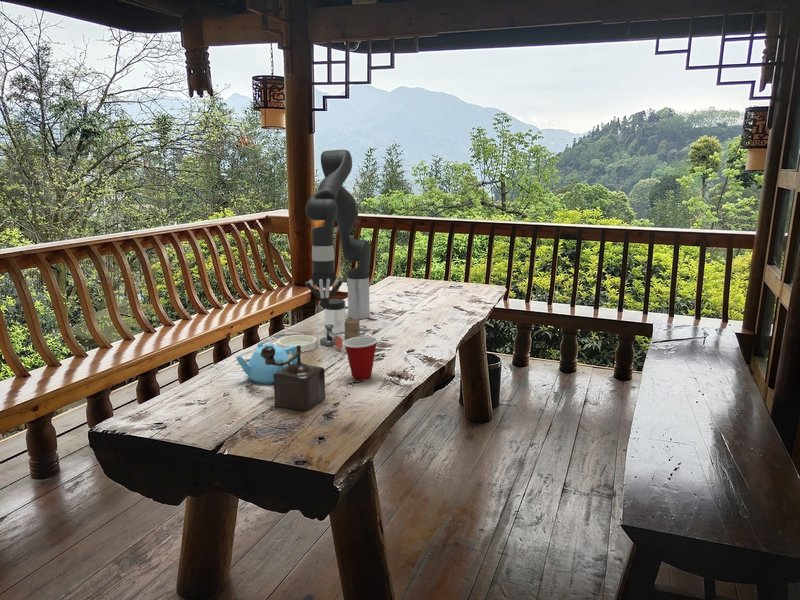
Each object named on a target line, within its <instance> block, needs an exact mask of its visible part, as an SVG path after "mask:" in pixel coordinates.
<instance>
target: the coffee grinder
mask: <svg viewBox="0 0 800 600" xmlns="http://www.w3.org/2000/svg"><path fill="white" fill-rule="evenodd" d="M296 348H297V351H296V354H295V355H294V356H293V355H292V356H291V357H289V358H290V359H289V360H287V361H285V362H282V363H275V361H276V360H275V359H274V355H275V352H276V351H275V349H274V347H270V346H267V347H264V348H263V349H262V350H261V357H263V358H264V359H265V364H266V365H275V366H283V365H286V364H288V365H287V366H285V367H283V368H282V370H280V371H278V372H276V373H274V375H273V377H274V383H273V393H274V395H273V396H274V406H276V407H277V408H281V409H286V410H291V411H295V412H296V411H297V412H303V411H305V413H306V411H307V412H308V410H309V411H310V410H311V409H314V408H315V407H316V406H317V405H319V404H320V403H322V402H323V401H324V400H325V399H326V384H325V383H326V379H325V377H326V376H325V367H322V366H315V365H311V364H306V363H305V362H304V363H303V362H302V358H301V354H302V353H301V350H300V349H301V346H300V345H297V347H296ZM295 358H297V362H296V363H293V364H290V362H291V361H293V360H294V359H295Z"/></svg>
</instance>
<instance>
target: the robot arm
mask: <svg viewBox="0 0 800 600" xmlns="http://www.w3.org/2000/svg"><path fill="white" fill-rule="evenodd" d="M352 157H353V156H352V154H351V153H350V151H349V150H347V149H332V150H323V151H322V152H321V154H320V165H321V170H322V173H323V175H324V178H323V179H322V180H321V181H320V183H319V185H318V188H317V190H316V192H315V193H314V194H313V195H312V196H310V197H309V199H308V200H307V202H306V205H305V209H304V211H305V215H306V217H307V218H308V219H309V220H311V221H325V224H324V225H322V226H317V227H315V228H313V229H312V230H311V240H312V241H311V244H312V245H311V246H312V250H311V261H312V262H311V263H312V264H311V267H312V274H311V279H309V280H308V281H306V282H305V285H306V287H307V288H308V289H309V290H310V291H311V293H312V294H313V295H314V296H315V297H316V298H317V297H318V298H319V300H320V308H321V309H323V310H324V309H327V307H329V300H330V297H334V296H335V294H336V293H337V291H338V290H339V289H340V287H341V286H342V285H343V281H342V280H341V279H338V277H337V275H336V270H335V263H336V262H335V258H336V257H335V249H334V248H335V247H334V227H335V222H336V223H337V228H338V231H339V236H340V243H341V249H342V255H343V258H344V260H345V261H347V262H352V263H353V262H355V263H356V262H357V263H359V265H358V266H357V267H354V268H351V269H348V271H347V273H346V276H347V277H346V280H347V281H346V282H347V315H348V316H347V317H348V319H359V320H364V319H368V318H370V314H371V313H370V259H371V258H370V256H371V254H370V252H371V251H370V250H371V246H370V243H369V241H368V240H366V239H352V238H351V232H352V229H353V228H354V226H355V224H356V223H357V221H358V218H359V211H358V206H357V201H356V199H355V197H354V196H353V194H352V193H350V192H349V191H348V189H346V187H344V186H343V184H345V182H346V180H347V178H348V177H349V175H350V174H351V172H352V168H353V158H352ZM333 284H334V286H333ZM314 285H315V286H316V287H317V288H318V291H319V292H318V291H317V290H316V289H315V287H314ZM332 286H333V287H332ZM331 287H332V288H331Z"/></svg>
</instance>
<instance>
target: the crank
mask: <svg viewBox="0 0 800 600" xmlns="http://www.w3.org/2000/svg"><path fill="white" fill-rule="evenodd" d="M329 336H331V337H332V338H334V343H335V346H334V347H335V348H336V349H338V350H342V349H344V345H343V342H344V341H343V338H342V337H340V336H339V335H338V334H335V333H333V332H329Z"/></svg>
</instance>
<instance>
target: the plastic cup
mask: <svg viewBox="0 0 800 600" xmlns="http://www.w3.org/2000/svg"><path fill="white" fill-rule="evenodd" d="M378 341H379V338H377V337H375V336H368V335H367V336H366V335H365V336H360V337H354V338H350V339H347V340H345V339H344V341H343V347H344V349H345V351H346V354H347V359H348V364H349V365H348V366H349V368H350V372H351V373H350V374H351V377H352V379H354V380H356V381H367V380H369V379H371V378H372V373H373V367H374V363H375V362H374V361H375V354H376V349H377V344H378Z"/></svg>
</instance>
